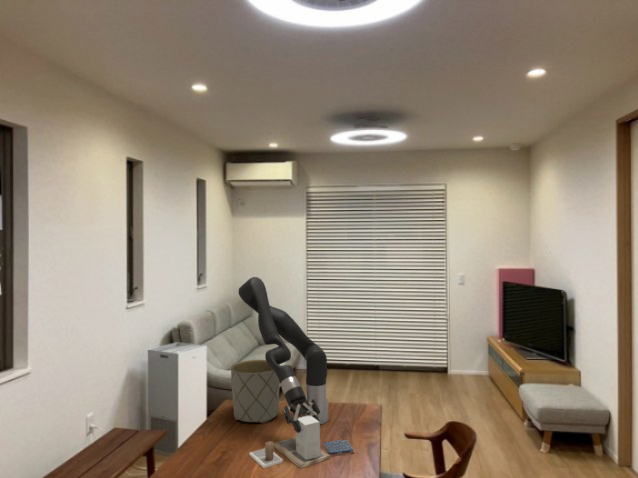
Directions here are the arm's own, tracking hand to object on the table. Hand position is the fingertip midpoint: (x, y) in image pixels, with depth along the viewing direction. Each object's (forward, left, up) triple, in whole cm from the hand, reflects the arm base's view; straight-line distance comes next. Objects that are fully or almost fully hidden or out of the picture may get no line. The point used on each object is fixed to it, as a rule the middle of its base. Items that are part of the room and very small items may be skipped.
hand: (308, 429), depth 174 cm
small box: (0, 0, -10) cm, 10 cm away
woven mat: (-13, +1, -11) cm, 17 cm away
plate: (+14, -8, -11) cm, 20 cm away
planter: (-1, -48, -11) cm, 50 cm away
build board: (+1, -5, -11) cm, 12 cm away
